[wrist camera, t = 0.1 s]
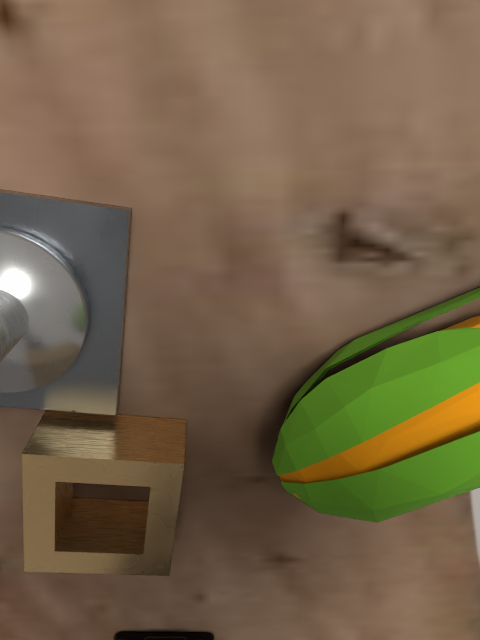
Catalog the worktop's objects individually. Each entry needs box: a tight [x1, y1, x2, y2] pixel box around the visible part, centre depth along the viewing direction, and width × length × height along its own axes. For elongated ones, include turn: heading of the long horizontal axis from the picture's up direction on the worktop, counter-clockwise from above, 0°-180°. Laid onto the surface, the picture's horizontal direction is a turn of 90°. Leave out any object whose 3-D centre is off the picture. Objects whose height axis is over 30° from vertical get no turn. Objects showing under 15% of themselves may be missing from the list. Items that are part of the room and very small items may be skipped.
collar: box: [22, 410, 186, 576], centre depth 23 cm, size 7×7×4 cm
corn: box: [272, 287, 480, 522], centre depth 20 cm, size 7×8×20 cm
